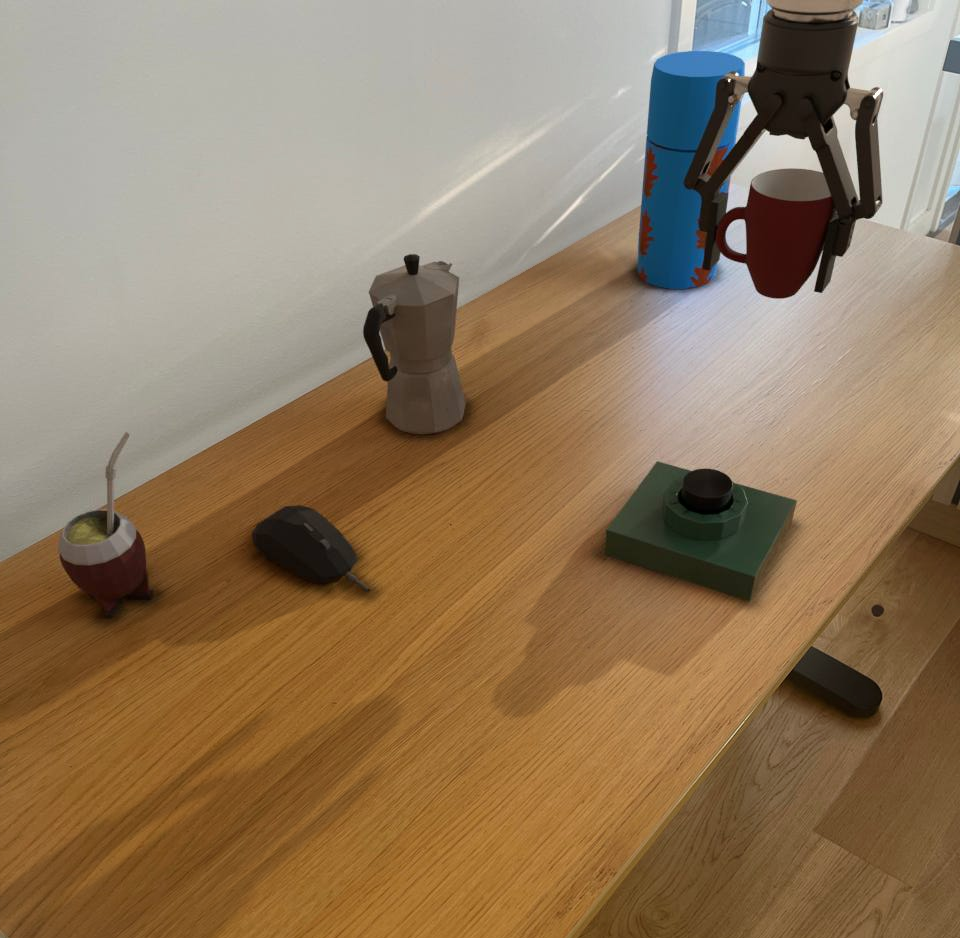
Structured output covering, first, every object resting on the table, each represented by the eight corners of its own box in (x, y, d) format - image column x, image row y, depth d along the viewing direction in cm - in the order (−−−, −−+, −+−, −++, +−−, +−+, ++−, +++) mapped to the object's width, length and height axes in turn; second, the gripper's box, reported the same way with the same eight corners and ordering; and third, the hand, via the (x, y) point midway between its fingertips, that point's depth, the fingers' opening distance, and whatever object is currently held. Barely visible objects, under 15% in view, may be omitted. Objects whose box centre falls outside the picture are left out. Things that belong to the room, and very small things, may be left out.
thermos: (622, 263, 131) (636, 58, 113) (691, 248, 133) (715, 45, 115) (660, 296, 124) (681, 82, 106) (732, 280, 126) (764, 68, 108)
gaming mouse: (343, 610, 84) (336, 577, 82) (241, 543, 92) (231, 510, 89) (393, 574, 88) (388, 541, 85) (290, 512, 95) (283, 479, 92)
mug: (707, 305, 92) (721, 199, 84) (710, 268, 97) (724, 166, 90) (820, 311, 90) (844, 203, 82) (817, 273, 95) (839, 169, 88)
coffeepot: (422, 375, 112) (407, 222, 99) (491, 394, 109) (485, 237, 96) (347, 442, 103) (320, 282, 90) (419, 464, 100) (402, 302, 87)
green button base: (791, 525, 90) (801, 482, 87) (749, 602, 83) (759, 559, 79) (654, 485, 95) (658, 443, 92) (604, 554, 88) (607, 512, 85)
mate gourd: (69, 618, 85) (2, 483, 74) (105, 561, 91) (47, 427, 80) (147, 624, 84) (90, 488, 73) (179, 566, 90) (130, 431, 79)
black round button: (736, 494, 86) (739, 476, 85) (719, 521, 84) (722, 503, 82) (690, 481, 88) (693, 463, 87) (673, 507, 85) (675, 489, 84)
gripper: (661, 9, 79) (641, 268, 95) (950, 35, 70) (874, 316, 86) (695, -12, 83) (670, 239, 99) (971, 10, 74) (895, 282, 90)
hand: (765, 275), depth 92 cm, fingers closed on mug, 10 cm apart
